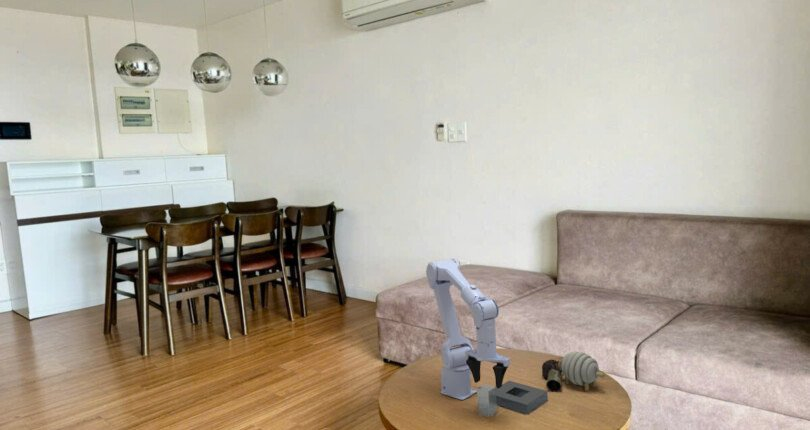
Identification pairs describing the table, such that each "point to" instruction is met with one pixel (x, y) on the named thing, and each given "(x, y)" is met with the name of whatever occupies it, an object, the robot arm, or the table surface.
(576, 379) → the toy sheep
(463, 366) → the robot arm
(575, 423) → the table surface
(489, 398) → the grey wooden block
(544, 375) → the tube with rough end
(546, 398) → the grey slab with hole
